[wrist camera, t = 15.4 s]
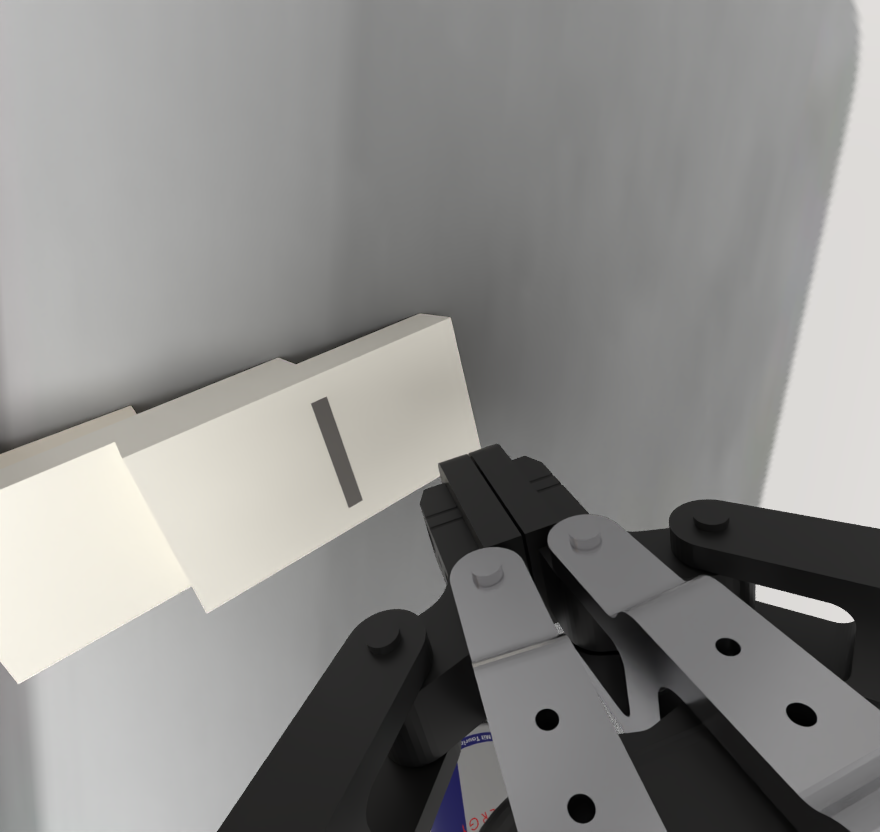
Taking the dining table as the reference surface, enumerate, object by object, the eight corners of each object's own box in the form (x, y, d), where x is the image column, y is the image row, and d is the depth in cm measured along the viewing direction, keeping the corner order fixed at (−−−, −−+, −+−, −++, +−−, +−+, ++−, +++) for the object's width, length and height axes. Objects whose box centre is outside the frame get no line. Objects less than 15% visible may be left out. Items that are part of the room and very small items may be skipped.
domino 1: (347, 498, 19) (18, 684, 14) (324, 482, 21) (19, 646, 16) (298, 365, 17) (-102, 532, 12) (278, 357, 18) (-89, 504, 14)
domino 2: (481, 451, 20) (206, 614, 15) (451, 438, 21) (192, 583, 17) (450, 317, 18) (122, 458, 13) (419, 313, 19) (113, 439, 15)
